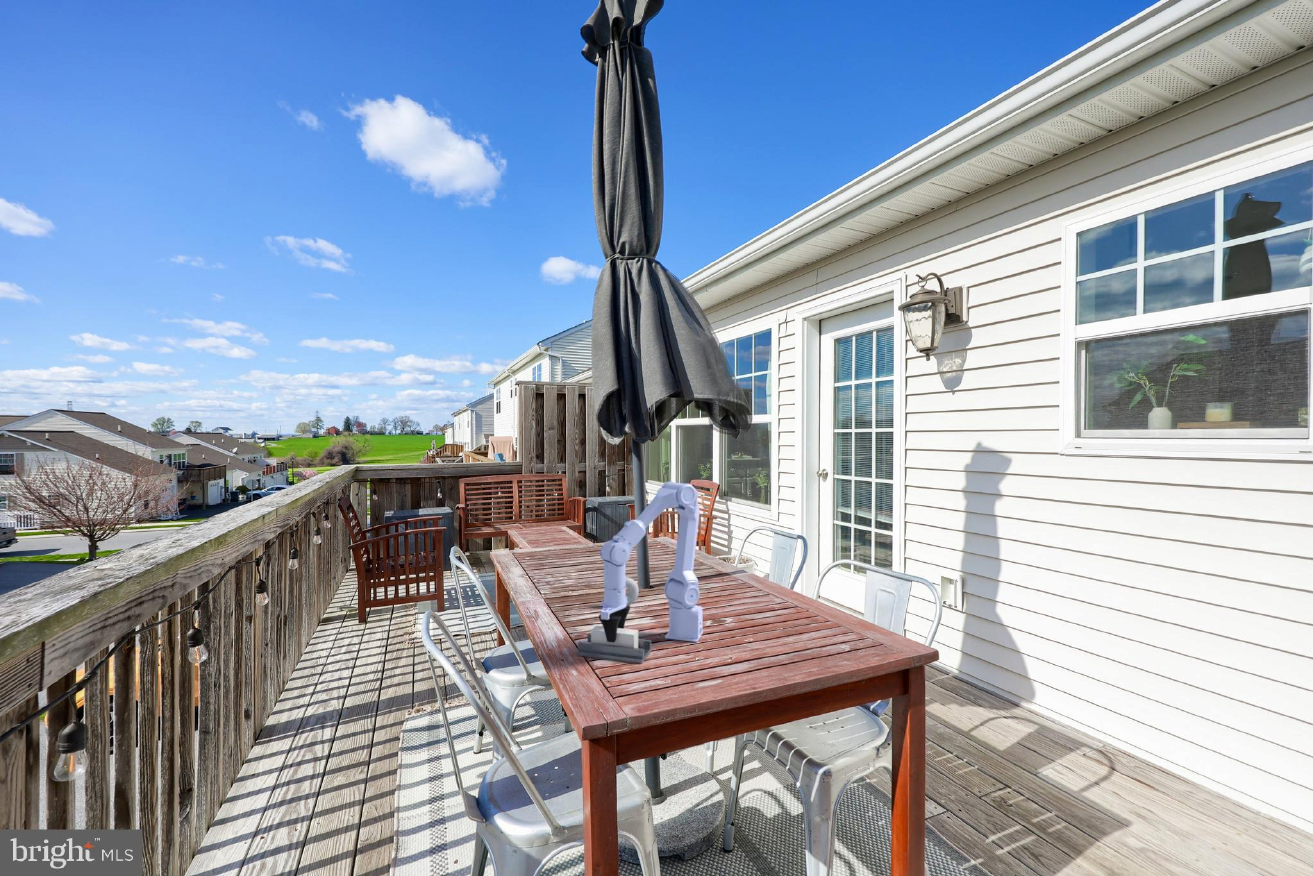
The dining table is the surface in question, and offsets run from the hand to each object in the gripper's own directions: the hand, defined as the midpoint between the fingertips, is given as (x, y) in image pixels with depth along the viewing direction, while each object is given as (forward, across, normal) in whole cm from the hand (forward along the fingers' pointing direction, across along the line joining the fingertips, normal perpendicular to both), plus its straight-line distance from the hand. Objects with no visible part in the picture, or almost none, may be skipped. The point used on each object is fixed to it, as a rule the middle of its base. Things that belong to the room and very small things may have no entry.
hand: (614, 638), depth 143 cm
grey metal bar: (+3, 0, 0) cm, 3 cm away
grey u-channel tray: (+4, 0, 0) cm, 4 cm away
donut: (+4, -37, -11) cm, 39 cm away
